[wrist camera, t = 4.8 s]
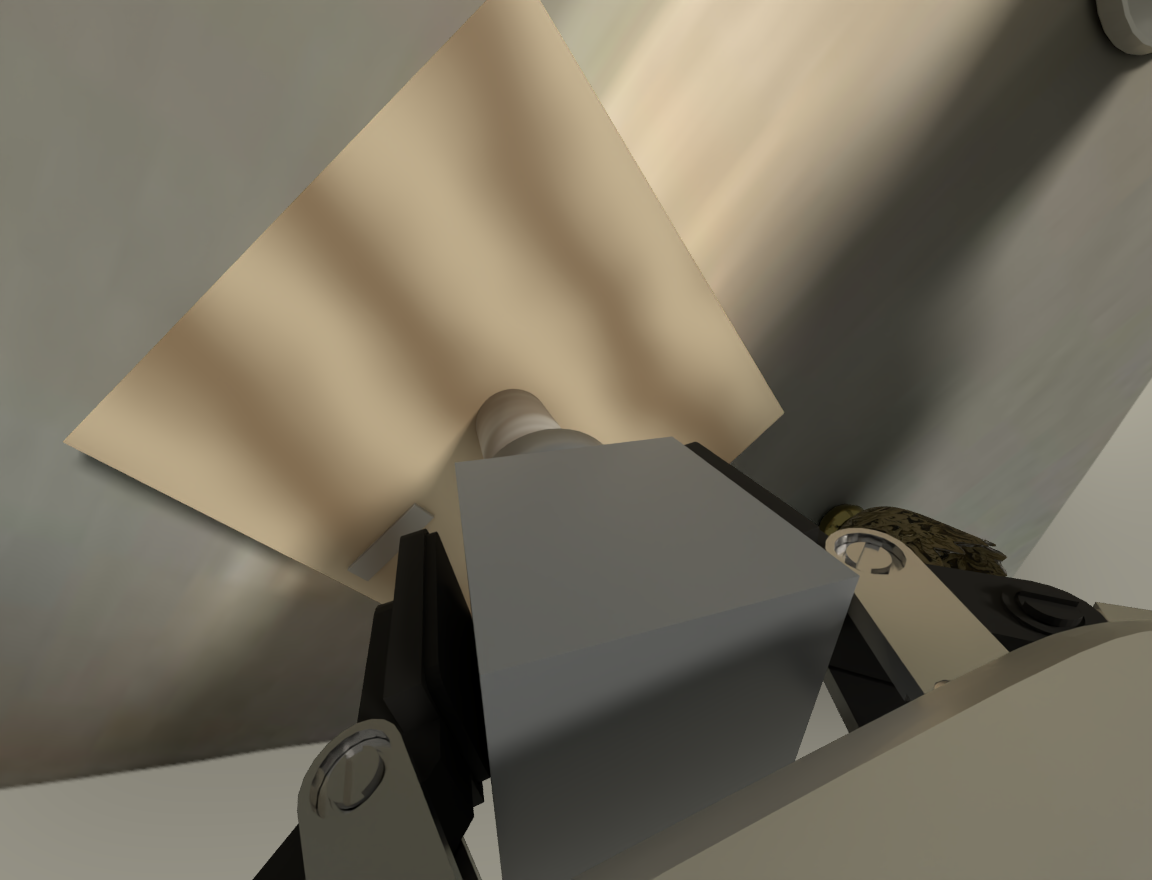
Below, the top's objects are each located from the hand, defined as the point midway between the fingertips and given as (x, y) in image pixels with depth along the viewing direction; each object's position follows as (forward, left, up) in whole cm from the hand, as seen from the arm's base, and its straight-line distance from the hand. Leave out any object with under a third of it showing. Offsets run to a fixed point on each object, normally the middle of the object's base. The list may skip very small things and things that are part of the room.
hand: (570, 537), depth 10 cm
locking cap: (+2, +2, -2) cm, 3 cm away
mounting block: (0, 0, -10) cm, 10 cm away
